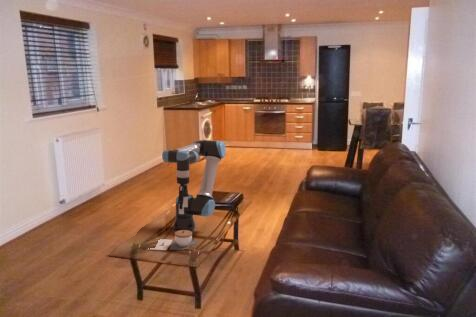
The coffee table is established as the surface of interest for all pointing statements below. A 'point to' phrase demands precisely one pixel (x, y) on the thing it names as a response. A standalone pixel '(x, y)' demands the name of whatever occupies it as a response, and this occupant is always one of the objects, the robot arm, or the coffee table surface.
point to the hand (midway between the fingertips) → (183, 210)
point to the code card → (162, 244)
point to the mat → (177, 247)
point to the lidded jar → (183, 237)
